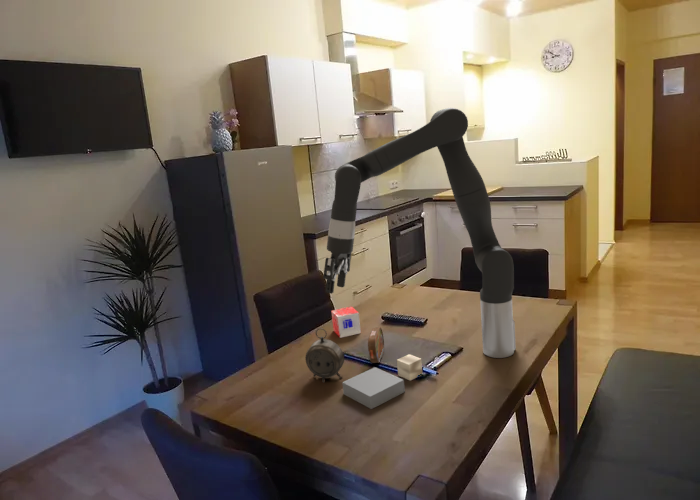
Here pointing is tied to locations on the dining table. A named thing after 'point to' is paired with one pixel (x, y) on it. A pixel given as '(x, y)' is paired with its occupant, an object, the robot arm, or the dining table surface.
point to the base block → (373, 387)
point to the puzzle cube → (346, 321)
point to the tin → (375, 344)
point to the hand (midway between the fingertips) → (335, 289)
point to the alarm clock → (324, 358)
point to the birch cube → (409, 367)
